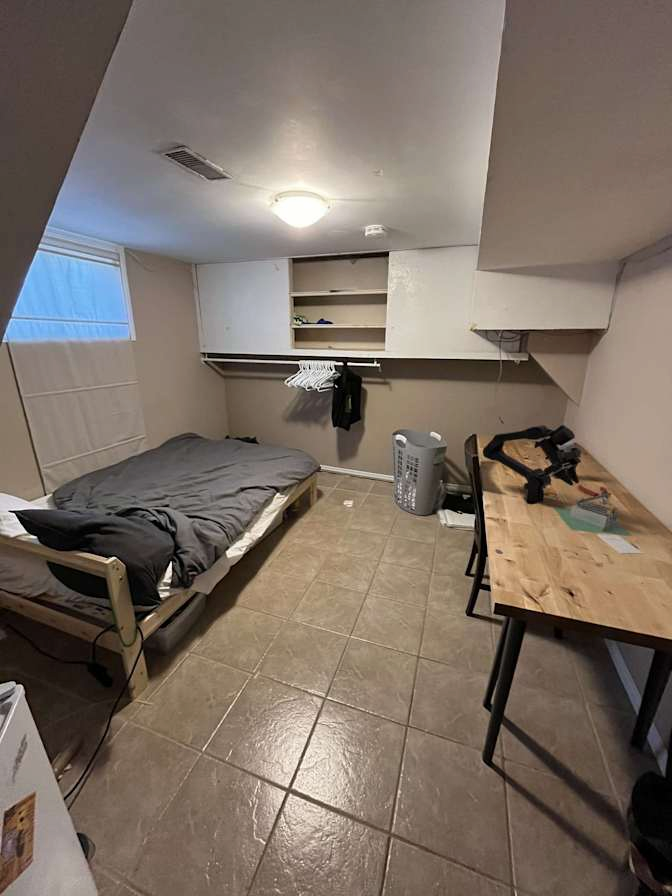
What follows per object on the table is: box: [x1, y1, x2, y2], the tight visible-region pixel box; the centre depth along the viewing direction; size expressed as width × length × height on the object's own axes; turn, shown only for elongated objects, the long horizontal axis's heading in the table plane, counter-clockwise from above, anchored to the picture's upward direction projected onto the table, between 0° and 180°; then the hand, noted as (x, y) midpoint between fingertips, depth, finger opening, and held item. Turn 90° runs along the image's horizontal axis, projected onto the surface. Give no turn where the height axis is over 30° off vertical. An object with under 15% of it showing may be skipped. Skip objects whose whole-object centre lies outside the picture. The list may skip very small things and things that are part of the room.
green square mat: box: [552, 507, 633, 537], centre depth 144 cm, size 20×20×1 cm
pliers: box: [577, 484, 612, 505], centre depth 169 cm, size 12×20×3 cm, turn 164°
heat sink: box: [569, 497, 620, 531], centre depth 143 cm, size 12×12×8 cm
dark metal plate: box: [579, 492, 612, 503], centre depth 142 cm, size 11×3×1 cm
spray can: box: [550, 440, 575, 479], centre depth 193 cm, size 8×8×20 cm
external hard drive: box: [596, 533, 645, 555], centre depth 128 cm, size 2×8×12 cm
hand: (575, 484), depth 147 cm, fingers open, 4 cm apart
